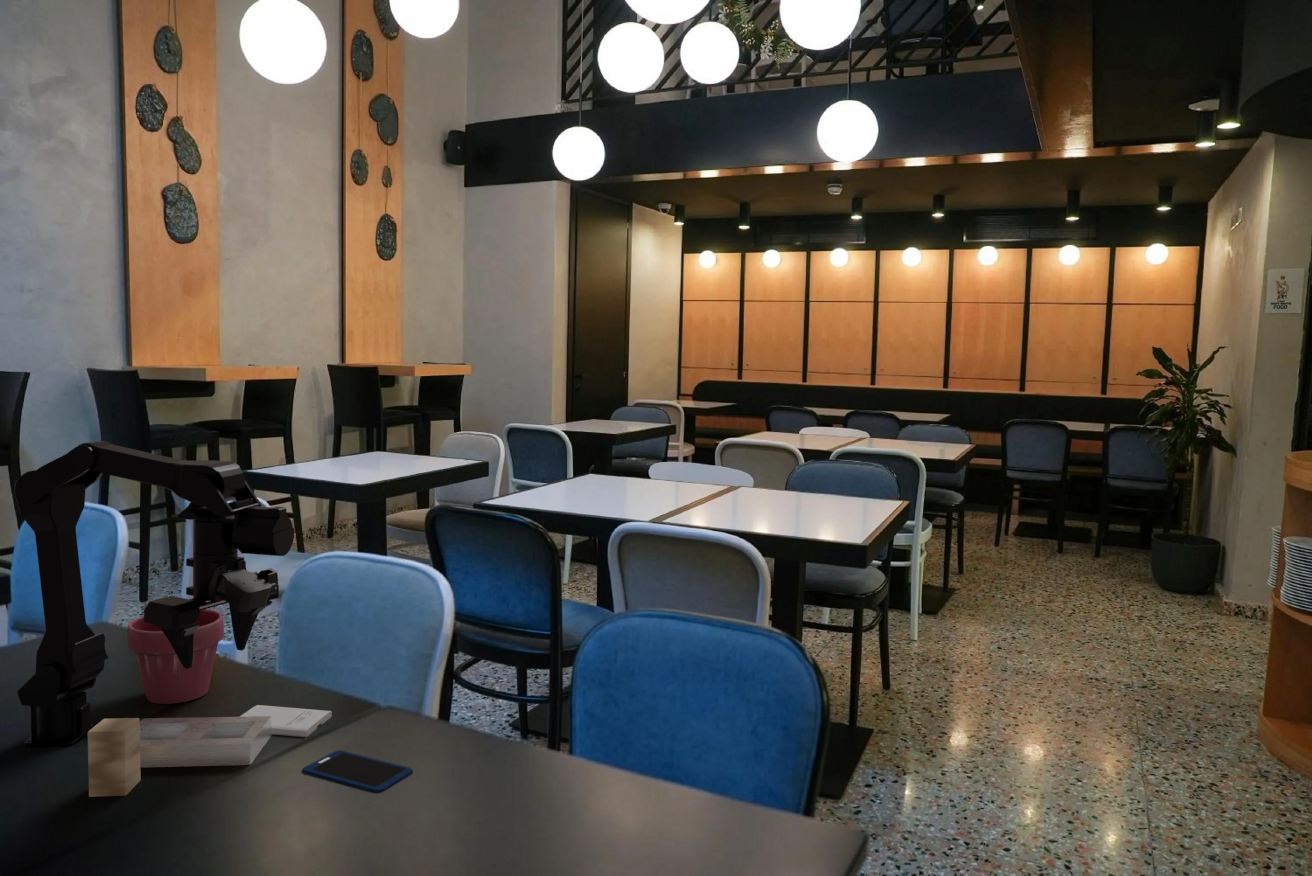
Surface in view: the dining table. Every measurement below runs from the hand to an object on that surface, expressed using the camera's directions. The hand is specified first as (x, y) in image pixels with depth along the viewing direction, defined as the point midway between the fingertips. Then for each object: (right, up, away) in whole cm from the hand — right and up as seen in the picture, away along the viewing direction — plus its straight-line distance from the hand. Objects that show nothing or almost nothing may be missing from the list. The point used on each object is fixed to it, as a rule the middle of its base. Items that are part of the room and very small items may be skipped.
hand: (214, 658), depth 130 cm
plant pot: (-17, -11, +22) cm, 30 cm away
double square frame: (-3, -13, 0) cm, 14 cm away
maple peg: (-8, -14, -11) cm, 20 cm away
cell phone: (+22, -15, -4) cm, 27 cm away
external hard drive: (+5, -13, +11) cm, 18 cm away
